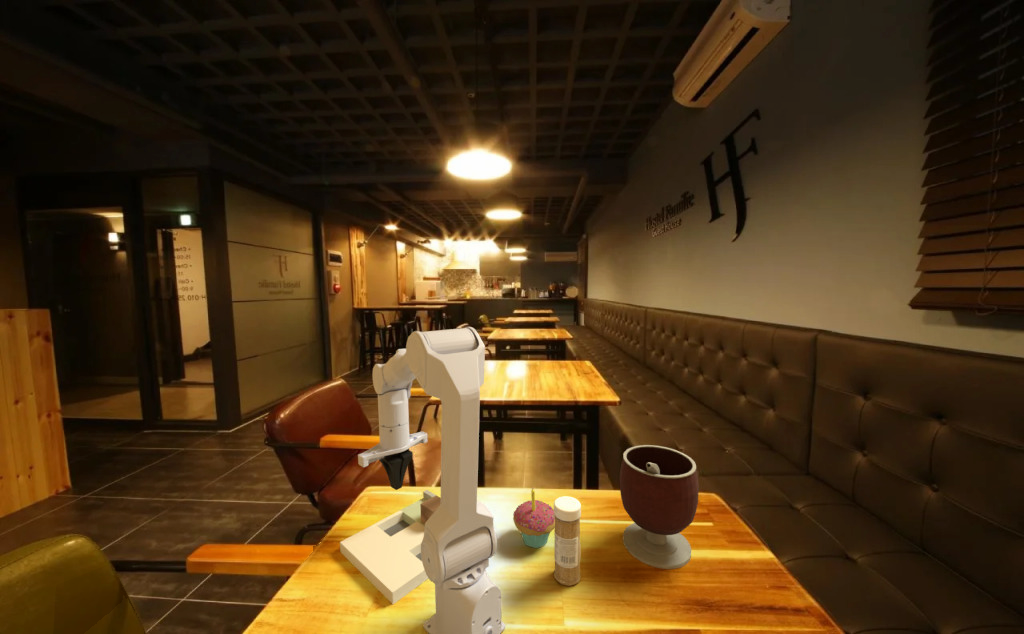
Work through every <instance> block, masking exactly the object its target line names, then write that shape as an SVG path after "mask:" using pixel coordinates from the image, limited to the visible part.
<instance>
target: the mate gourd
mask: <svg viewBox="0 0 1024 634" xmlns="http://www.w3.org/2000/svg"><path fill="white" fill-rule="evenodd" d="M622 455H623V457H622V461H621V465H620V466H621V467H620V471H619V492H620V496H621V497H620V498H621V502H622V506H623V508H624V510H625V512H626V513H627V515H628V516H629V517H630V519H631V520H632V522H633V523H632V524H630V525H628V526H627V527H625V529H624V530H623V532H622V542H623V546H624V547H625V549H626V551H628V553H629V554H630V555H631V556H633V557H634V558H635V559H637V561H640V562H641V563H643V564H645V565H648V566H651V567H654V568H658V569H665V570H672V569H678V568H682V567H684V566H685V565H687V564H689V562H690V560H691V558H692V547H691V544H690V543H689V541H688V540H687V538H686V537H685V536H684V535H683V534H681V532H683V531H684V530H685V529H686V528H688V527H689V526H690V525H692V523H693V521H694V518H695V516H696V513H697V509H698V505H699V490H700V489H699V477H698V472H697V465H696V461H694V459H692V457H690V456H689V455H687V454H685V453H684V452H681V451H680V450H679V451H678V450H676V449H674V448H671V447H666V446H661V445H654V444H653V445H651V444H643V445H634V446H632V447H628V448H627V449H626V450H625V451H624V452H623V454H622Z"/></svg>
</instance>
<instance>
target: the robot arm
mask: <svg viewBox="0 0 1024 634" xmlns="http://www.w3.org/2000/svg"><path fill="white" fill-rule="evenodd" d="M485 352H486V346H485V344H484V342H483V340H482V338H481V336H480V335H479V333H478V331H477V330H476V328H474V327H472V326H465V327H462V328H453V329H452V328H450V329H441V330H440V329H439V330H430V331H429V330H428V331H418V330H415V331H412V332H411V333H410V335H409V336H408V337H407V339H406V345H405V348H398V349H397V350H395V354H394V355H393V356H392V357H390V358H389V359H388V361H387V362H385V363H376V364H374V366H373V368H372V385H373V388H374V391H375V393H376V394H377V406H378V407H377V408H378V411H377V412H378V430H379V431H378V433H379V443H377V444H376V445H374V446H372V447H371V448H368V449H367V450H366V451H363V452H362V453H359V454H357V460H358V461H357V462H358V463H357V464H358V465H359V466H361V467H362V468H366V467H368V466H369V464H372V463H374V462H376V461H378V460H379V461H380V464H381V465H382V467H383V468H384V471H385V472H386V475H387V478H388V480H389V484H390V487H391V488H392V489H394V490H395V491H397V490H400V489H401V488H402V487H403V484H404V479H405V476H406V473H407V470H408V468H409V465H410V463H411V461H412V459H413V454H414V452H413V451H412V450H410V448H412V447H414V446H415V447H416V446H417V445H420V444H426V443H428V433H427V432H424V431H419V432H415V433H410V417H409V416H410V414H409V399H411V396H412V395H411V392H412V391H411V389H412V386H413V381H414V380H416V381H417V382H418V384H419V386H420V387H421V388H422V390H423V392H424V393H425V395H427V396H431V397H432V398H433V397H434V398H437V399H439V400H440V402H441V429H440V430H441V431H440V432H441V433H440V435H441V438H440V439H441V441H440V449H441V450H440V498H441V504H440V506H439V507H438V509H437V510H436V511H435V512H434V513H433V514H432V516H431V517H430V518H429V519H428V520H427V522H426V523H425V530H424V537H423V540H422V543H421V558H422V563H423V567H424V570H425V572H426V574H427V576H428V579H429V581H430V582H432V583H433V584H434V590H435V591H434V596H435V597H434V598H435V599H434V600H435V603H434V604H435V614H434V615H432V616H431V617H430V618H429V619H427V620H426V621H425V622H424V623H423V629H424V630H425V631H426V632H427V633H428V634H501V633H502V632H503V631H504V630H505V629H506V624H505V622H504V621H502V593H501V589H500V588H499V586H498V585H497V584H496V583H494V582H493V581H492V579H491V578H490V576H489V575H488V573H487V568H488V567H489V566H490V564H489V563H490V560H489V559H491V558H492V557H493V556H495V554H496V550H497V544H498V542H497V541H498V540H497V533H496V531H495V526H494V516H493V514H492V513H491V511H490V510H489V508H488V507H487V506H486V505H485V504H484V503H482V502H481V501H479V500H478V479H479V478H478V476H479V475H478V473H479V472H478V471H479V445H480V444H479V443H480V442H479V440H480V439H479V437H480V435H479V433H480V407H481V406H480V403H481V400H480V399H481V398H480V397H481V390H480V388H481V387H482V386H483V385H484V383H485V362H486V361H485V358H486V357H485V356H486V353H485Z"/></svg>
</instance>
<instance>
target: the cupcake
mask: <svg viewBox="0 0 1024 634" xmlns="http://www.w3.org/2000/svg"><path fill="white" fill-rule="evenodd" d="M530 491H531V493H530V494H531V500H527V501H524V502H523V503H520V504H519V505H518V506H517V507H516V509H515V510H514V511H513V513H512V514H513V517H512V519H513V523H514V526H515V528H516V529H517V531H519V532H520V535H521V536H522V539H523V542H524V544H525V545H526V546H528V547H530V548H535V549H536V548H541V547H543V546H546V544H547V543H548V540H549V536H550V534H551V532H552V531H553V530H555V516H554V508H553V507H552V506H551V505H549V503H546V502H543V501H542V500H537V499H536V490H535V489H534V487H533V486H532V488H531V490H530Z"/></svg>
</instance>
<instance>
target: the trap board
mask: <svg viewBox="0 0 1024 634" xmlns="http://www.w3.org/2000/svg"><path fill="white" fill-rule="evenodd" d="M422 493H423V495H422V496H423V497H422V498H420V499H419V500H417V501H415V502H413V503H411V504H409V505H407V506H406V507H403V508H402V509H400V510H398V511H396V512H394V513H393V514H391V515H389V516H386V517H385V518H383V519H380V520H379V521H376V522H375V523H374V524H372V525H370V526H367V527H366V528H364V529H362V530H360V531H357V532H356V533H355V534H353V535H350V536H349V537H346V538H345V539H343V540H342V541H340V542H339V549H340V550H339V551H340V552H339V553H341V554H342V555H343V556H344V557H345V558H346V559H347V560H348V561H349V562H350V563H351V564H352V565H353V566H354V567H355V568H356V569H357V570H358V571H359V572H360V573H361V575H363V576H364V577H365V578H366V579H367V580H368V581H369V582H370V583H371V584H372V585H373V586H374V587H375V588H376V589H377V590H378V591H379V592H380V593H381V594H382V595H383V596H384V597H385V598H386V599H387V600H388V601H389V602H390V603H391V604H392V605H394V604H396V603H397V602H398V601H400V600H401V599H402V598H404V597H405V596H406V595H408V594H410V593H411V592H412V591H413V590H415V589H416V588H418V587H419V586H420V585H422V584H423V583H424V582H425V581H427V580H428V579H429V578H428V576H427V574H426V572H425V570H424V567H423V563H422V558H421V543H422V540H423V537H424V530H425V525H424V524H422V523H421V506H420V504H421V503H423V502H425V501H427V500H428V499H430V498H432V497H434V496H436V494H435V493H433V492H431V491H430V490H428V489H426V490H424V491H422Z"/></svg>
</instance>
